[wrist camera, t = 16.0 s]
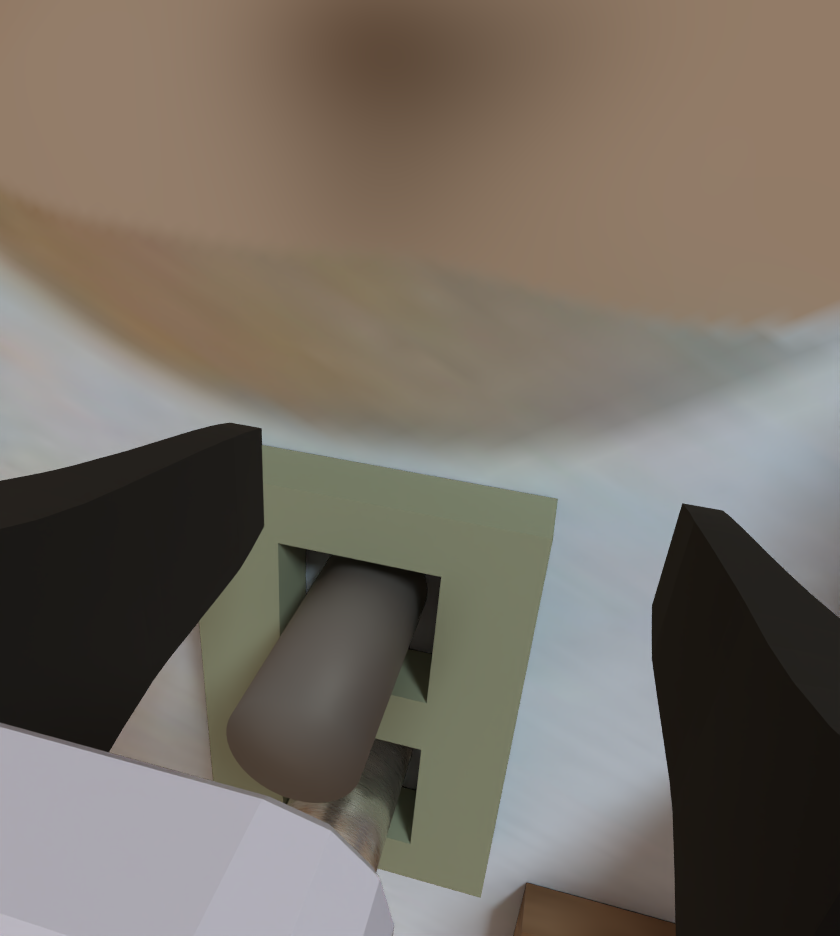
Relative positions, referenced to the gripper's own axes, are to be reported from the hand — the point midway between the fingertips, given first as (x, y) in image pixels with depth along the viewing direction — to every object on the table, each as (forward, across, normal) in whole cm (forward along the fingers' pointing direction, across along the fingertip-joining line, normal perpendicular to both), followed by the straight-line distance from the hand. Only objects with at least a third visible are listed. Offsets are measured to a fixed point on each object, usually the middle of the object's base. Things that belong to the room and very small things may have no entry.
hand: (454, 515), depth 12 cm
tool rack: (+10, +4, +14) cm, 18 cm away
